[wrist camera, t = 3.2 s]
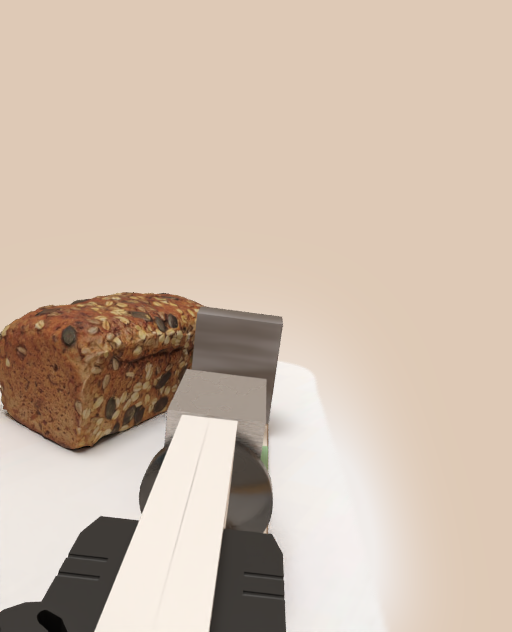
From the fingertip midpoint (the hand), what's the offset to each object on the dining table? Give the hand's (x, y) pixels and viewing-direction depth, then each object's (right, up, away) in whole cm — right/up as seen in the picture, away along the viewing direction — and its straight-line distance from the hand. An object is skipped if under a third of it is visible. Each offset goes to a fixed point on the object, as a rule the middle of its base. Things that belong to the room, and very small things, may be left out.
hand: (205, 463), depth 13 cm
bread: (-11, -4, +31) cm, 34 cm away
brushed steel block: (-1, -9, +12) cm, 15 cm away
